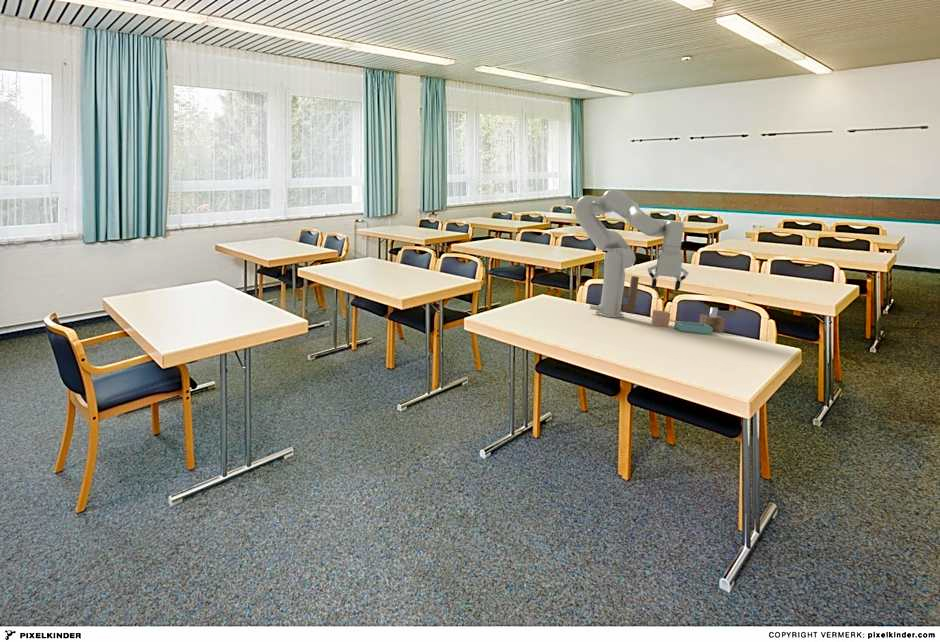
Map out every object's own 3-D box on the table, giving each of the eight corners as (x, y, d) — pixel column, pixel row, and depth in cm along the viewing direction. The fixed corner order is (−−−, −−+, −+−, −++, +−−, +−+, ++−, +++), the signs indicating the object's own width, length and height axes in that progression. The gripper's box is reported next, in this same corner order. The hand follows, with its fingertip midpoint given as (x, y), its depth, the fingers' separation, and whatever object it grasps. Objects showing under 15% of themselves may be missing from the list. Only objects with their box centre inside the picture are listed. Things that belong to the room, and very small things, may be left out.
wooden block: (615, 309, 297) (620, 274, 294) (635, 312, 291) (640, 276, 287) (612, 309, 294) (617, 274, 291) (632, 313, 288) (637, 277, 285)
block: (654, 325, 256) (656, 312, 254) (651, 323, 261) (653, 310, 260) (668, 327, 255) (670, 313, 254) (665, 324, 261) (666, 311, 260)
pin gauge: (708, 330, 255) (711, 307, 253) (706, 329, 258) (709, 307, 256) (715, 331, 255) (719, 308, 253) (713, 329, 258) (716, 307, 256)
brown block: (704, 330, 253) (706, 317, 252) (698, 327, 261) (700, 314, 260) (722, 332, 252) (725, 319, 251) (716, 329, 260) (719, 316, 259)
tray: (680, 331, 245) (681, 324, 245) (674, 327, 255) (675, 320, 254) (711, 335, 244) (712, 327, 244) (704, 330, 254) (705, 323, 253)
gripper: (652, 248, 249) (646, 288, 252) (693, 252, 248) (687, 292, 251) (648, 247, 257) (643, 286, 260) (688, 251, 255) (682, 290, 259)
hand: (665, 289), depth 255 cm, fingers open, 9 cm apart
